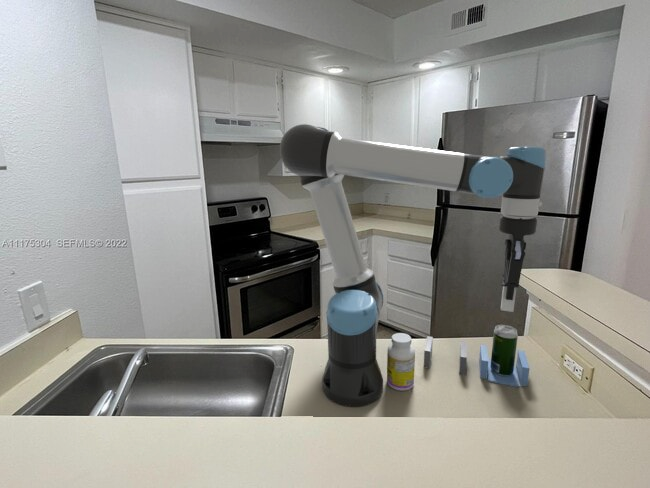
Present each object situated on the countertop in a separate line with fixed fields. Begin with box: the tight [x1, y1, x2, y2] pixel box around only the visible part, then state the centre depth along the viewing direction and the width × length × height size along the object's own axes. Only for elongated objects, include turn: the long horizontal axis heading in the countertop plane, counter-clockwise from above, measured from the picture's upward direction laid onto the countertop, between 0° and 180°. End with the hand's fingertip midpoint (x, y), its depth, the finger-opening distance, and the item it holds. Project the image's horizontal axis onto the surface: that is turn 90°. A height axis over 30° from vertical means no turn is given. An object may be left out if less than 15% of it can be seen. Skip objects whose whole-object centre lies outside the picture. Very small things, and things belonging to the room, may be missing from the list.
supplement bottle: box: [386, 332, 416, 392], centre depth 85 cm, size 7×7×13 cm
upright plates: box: [423, 336, 531, 387], centre depth 92 cm, size 24×8×5 cm, turn 68°
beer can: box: [490, 324, 519, 377], centre depth 88 cm, size 5×5×12 cm
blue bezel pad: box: [487, 358, 520, 388], centre depth 90 cm, size 7×10×1 cm
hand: (506, 309), depth 86 cm, fingers closed
